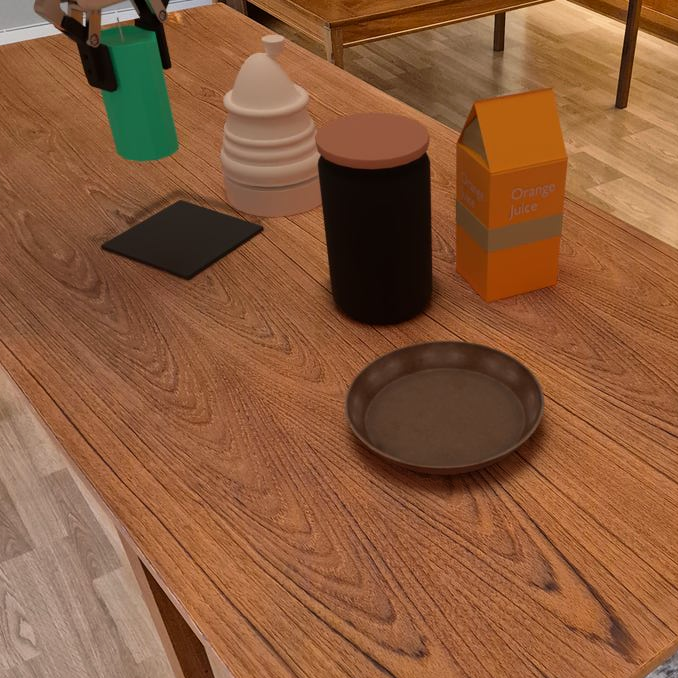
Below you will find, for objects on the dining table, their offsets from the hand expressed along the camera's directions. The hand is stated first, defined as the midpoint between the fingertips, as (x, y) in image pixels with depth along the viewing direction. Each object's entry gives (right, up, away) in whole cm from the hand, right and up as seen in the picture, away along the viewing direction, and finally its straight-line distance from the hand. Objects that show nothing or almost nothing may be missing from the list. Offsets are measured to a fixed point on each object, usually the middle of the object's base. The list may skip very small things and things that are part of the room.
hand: (131, 75), depth 83 cm
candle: (0, -5, +5) cm, 7 cm away
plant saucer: (+30, -33, -2) cm, 44 cm away
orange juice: (+36, -15, +16) cm, 42 cm away
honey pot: (+7, -2, +29) cm, 30 cm away
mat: (-2, -10, +20) cm, 23 cm away
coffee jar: (+22, -19, +12) cm, 32 cm away
